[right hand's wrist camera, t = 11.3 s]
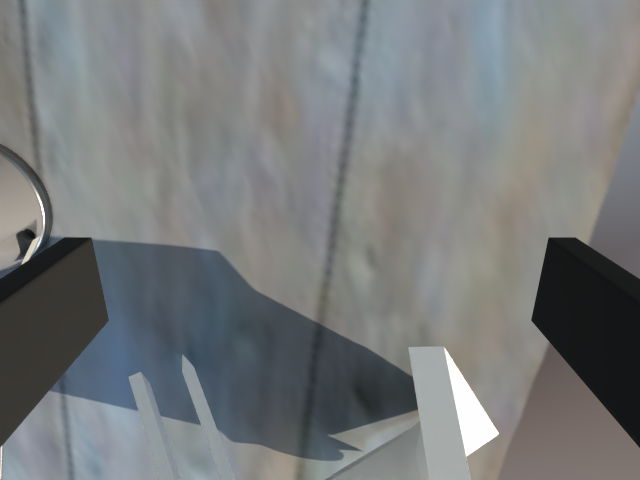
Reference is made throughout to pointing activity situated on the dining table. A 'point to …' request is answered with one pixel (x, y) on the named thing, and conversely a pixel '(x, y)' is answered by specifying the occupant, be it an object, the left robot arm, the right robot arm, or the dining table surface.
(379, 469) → the white plastic object
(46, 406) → the dining table surface
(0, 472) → the invitation card
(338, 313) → the dining table surface
